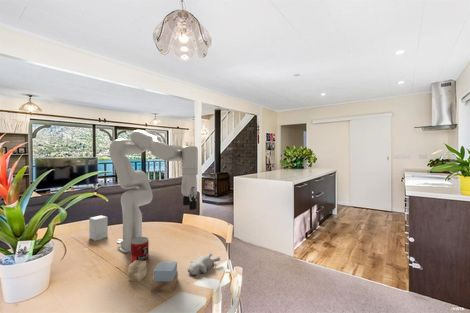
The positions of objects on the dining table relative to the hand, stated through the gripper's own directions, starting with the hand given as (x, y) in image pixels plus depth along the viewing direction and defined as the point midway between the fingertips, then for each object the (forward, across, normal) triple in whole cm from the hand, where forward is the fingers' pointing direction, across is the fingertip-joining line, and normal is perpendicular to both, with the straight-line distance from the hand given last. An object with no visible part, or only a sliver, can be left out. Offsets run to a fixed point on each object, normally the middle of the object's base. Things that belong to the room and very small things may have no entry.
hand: (189, 207), depth 109 cm
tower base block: (+26, +15, -15) cm, 34 cm away
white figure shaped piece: (+26, +10, +3) cm, 28 cm away
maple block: (+26, +4, -23) cm, 35 cm away
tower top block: (+22, +15, -14) cm, 31 cm away
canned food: (+26, -10, -21) cm, 35 cm away
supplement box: (+26, -56, -39) cm, 73 cm away
